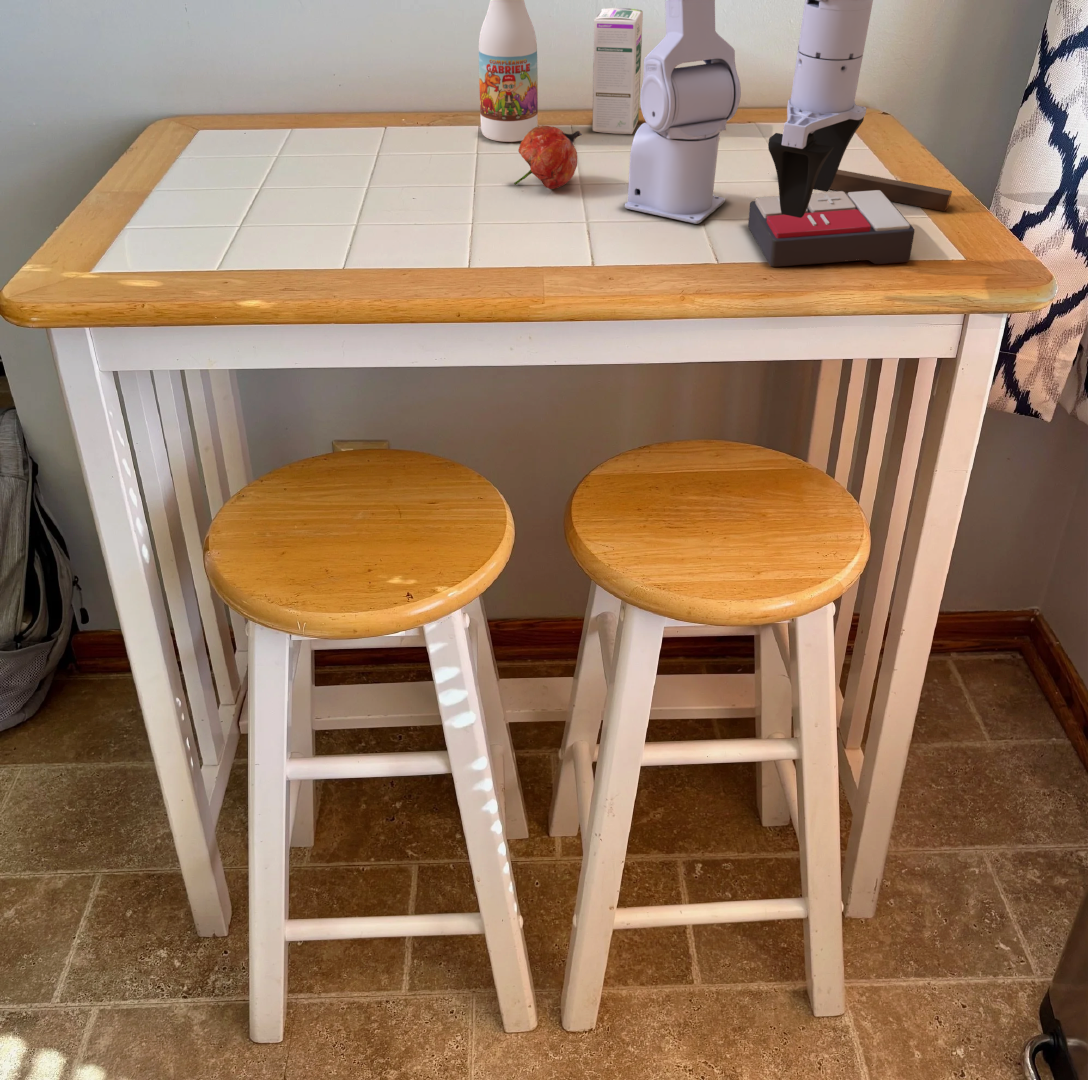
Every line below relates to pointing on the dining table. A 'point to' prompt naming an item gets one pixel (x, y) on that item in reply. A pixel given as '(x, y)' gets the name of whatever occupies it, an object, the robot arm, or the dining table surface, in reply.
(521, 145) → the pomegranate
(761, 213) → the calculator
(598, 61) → the syrup box
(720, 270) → the dining table surface
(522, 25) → the milk bottle
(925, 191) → the bar
